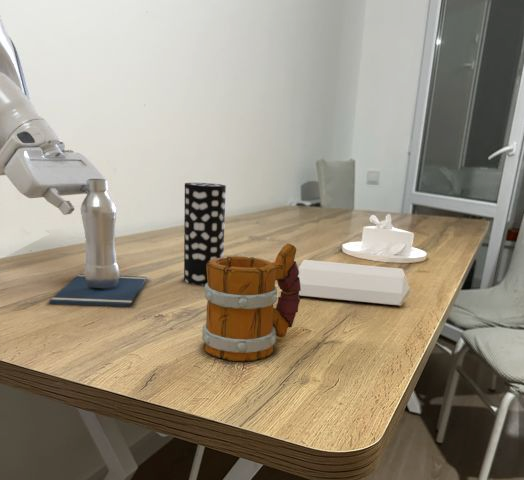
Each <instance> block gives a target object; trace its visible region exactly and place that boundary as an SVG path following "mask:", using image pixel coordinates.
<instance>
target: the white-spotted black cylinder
mask: <svg viewBox="0 0 524 480" xmlns="http://www.w3.org/2000/svg"><path fill="white" fill-rule="evenodd" d="M226 190H227V185H226V184H220V183H209V182H185V183H184V215H183V216H184V220H183V221H184V223H183V224H184V225H183V226H184V227H183V228H184V229H183V230H184V234H183V236H184V238H183V239H184V241H183V244H184V246H183V247H184V249H183V250H184V252H183V281H184V282H186V283H187V284H189V285H193V286H204V287H205V284H206V283H208V280H207V269H206V264H207V263H208V261H210V260H212V259H216V258H223V257H224V253H225V252H224V251H225V250H224V247H225V222H226V221H225V219H226V193H227V191H226Z"/></svg>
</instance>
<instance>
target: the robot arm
mask: <svg viewBox="0 0 524 480" xmlns="http://www.w3.org/2000/svg"><path fill="white" fill-rule="evenodd" d="M65 147H66V145H65V142H64V141H63V140H62V138H61V137H60V136H59V135H58V134H57V132H56V131H55V130H54V128H53V127H52V126H51V125H50V123H49V122H48V121H47V120H46V119H45V118H44V117H42V116H41V115H40V114H39V113H38V111H37V109H36V107H35V105H34V104H33V102H32V101H31V97H30V95H29V90H28V86H27V83H26V79H25V75H24V72H23V68H22V63H21V59H20V57H19V54H18V51H17V48H16V45H15V44H14V42H13V40H12V39H11V37H10V36H9V34H8V31H7V29H6V27H5V25H4V22H3V20H2V17H1V16H0V176H6V177H7V178H8V180H9V181H10V182H11V184H12V185H13V186H14V187H15V188H16V190H17V191H18V192H19V193H20V194H22V195H23V196H24V197H26V198H28V199H39V198H44V199H45V200H46V202H47V203H49V204H51V205H52V206H54V207H55V208H58V210H59V211H60V212H61V214H62V215H64V216H65V215H66V216H68V215H72V214H73V212H74V211H75V206H74V205H73V204H72V202H71V201H70V200H66V199H65V198H63V196H74V195H87V194H88V190H87V188H86V187H87V179H105V176H104V175H103V174H102V173H101V172H100V171H99V169H98V168H97V167H96V166H95V165H94V164H93V163H92V162H91V160H89V158H87V157H86V156H85V155H84V154H82V153H80V152H75V151H74V150H72V149H67V150H66V148H65Z"/></svg>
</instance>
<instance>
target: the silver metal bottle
mask: <svg viewBox="0 0 524 480" xmlns="http://www.w3.org/2000/svg"><path fill="white" fill-rule="evenodd" d="M108 186H109V185H108V179H105V178H104V179H87V187H86V188H87V190H88V194H86V195H85V197H84V199H83V201H82V202H81V205H80V214H81V220H82V225H83V230H84V239H85V264H84V273H83V274H84V275H85V279H86V282H87V284H88V285H89V286H91V287H94V288H110V287H114V286H116V285H117V283H118V281H119V276H120V269H119V265H118V261H117V254H116V245H115V244H116V240H115V238H116V230H115V229H116V222H117V221H116V220H117V207H116V204H115V203H114V201H113V199H112V198H111V197H110V196H109V194H108V192H107V191H109V187H108Z"/></svg>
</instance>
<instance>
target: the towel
mask: <svg viewBox="0 0 524 480" xmlns="http://www.w3.org/2000/svg"><path fill="white" fill-rule="evenodd" d="M84 274H85V273H78V275H77V276H76V277H74V278H73V279H72V280H71V281H70V282H68V284H66V285H65V286H64V287H63V288H62V289H61V290H60V291H59V292H57V293H56V294H54V296H53V297H52V298H51V299H49V301H48V303H49V305H66V306H67V305H69V306H70V305H71V306H72V305H73V306H93V307H95V306H96V307H121V308H126V307H127V308H130V307H131V306H132V305H133V304H134V302H135V300H136V298H137V296H138V295H139V293H140V292H141V290H142V288H143V286H144V284H145V283H146V282H147V280H148V278H147V276H137V275H136V276H135V275H119V281H118V283H117V285H116V286H114V287H110V288H94V287H91V286H89V285H88V284H87V282H86V279H85V275H84Z"/></svg>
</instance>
